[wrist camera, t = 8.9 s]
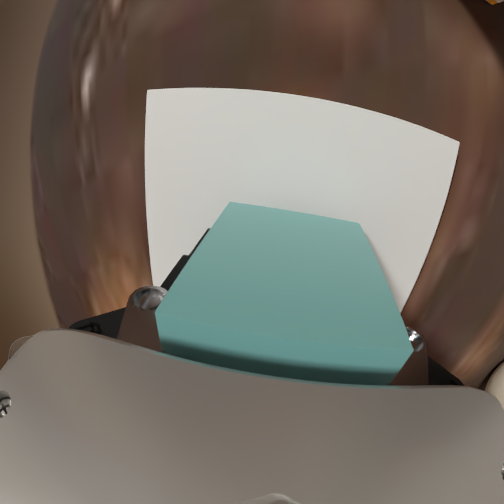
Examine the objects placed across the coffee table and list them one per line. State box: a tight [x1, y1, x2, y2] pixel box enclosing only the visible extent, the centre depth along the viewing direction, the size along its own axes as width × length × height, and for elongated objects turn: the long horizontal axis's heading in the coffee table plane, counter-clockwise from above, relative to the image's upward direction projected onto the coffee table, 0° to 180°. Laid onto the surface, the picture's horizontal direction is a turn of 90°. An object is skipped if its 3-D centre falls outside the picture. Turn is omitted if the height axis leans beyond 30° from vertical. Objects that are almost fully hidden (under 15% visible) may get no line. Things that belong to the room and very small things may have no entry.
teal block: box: [155, 202, 414, 386], centre depth 9 cm, size 5×5×7 cm
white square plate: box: [145, 88, 460, 313], centre depth 11 cm, size 14×14×6 cm
